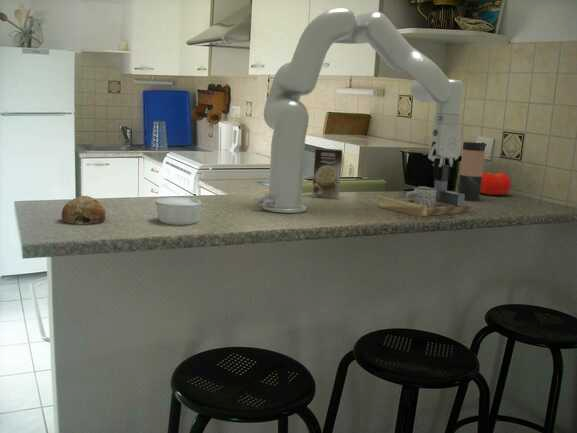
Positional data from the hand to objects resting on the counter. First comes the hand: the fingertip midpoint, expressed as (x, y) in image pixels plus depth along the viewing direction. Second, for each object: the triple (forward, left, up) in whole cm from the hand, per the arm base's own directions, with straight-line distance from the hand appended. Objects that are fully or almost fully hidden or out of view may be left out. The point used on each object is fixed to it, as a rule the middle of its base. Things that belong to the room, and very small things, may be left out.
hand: (441, 178), depth 198 cm
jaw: (0, 0, -7) cm, 7 cm away
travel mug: (+27, +10, -10) cm, 30 cm away
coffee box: (-22, +30, -10) cm, 38 cm away
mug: (-9, 0, -10) cm, 13 cm away
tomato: (+48, +16, -10) cm, 52 cm away
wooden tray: (-6, 0, -9) cm, 11 cm away
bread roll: (-107, +17, -10) cm, 109 cm away
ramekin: (-86, +9, -10) cm, 87 cm away
